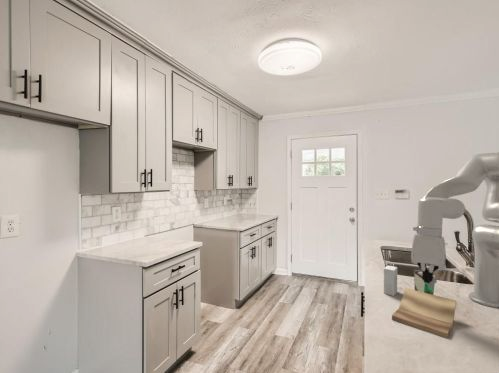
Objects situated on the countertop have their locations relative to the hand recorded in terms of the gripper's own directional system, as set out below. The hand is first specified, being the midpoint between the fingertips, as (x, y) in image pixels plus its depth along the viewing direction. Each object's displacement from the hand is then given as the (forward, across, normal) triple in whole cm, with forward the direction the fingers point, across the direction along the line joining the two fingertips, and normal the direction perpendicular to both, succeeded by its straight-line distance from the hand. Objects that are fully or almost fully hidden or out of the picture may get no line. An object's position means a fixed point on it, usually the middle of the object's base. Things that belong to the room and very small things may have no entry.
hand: (427, 281), depth 100 cm
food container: (+12, -4, +19) cm, 23 cm away
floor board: (+13, 0, -4) cm, 13 cm away
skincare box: (+13, -16, +11) cm, 23 cm away
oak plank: (+9, 0, -1) cm, 9 cm away
